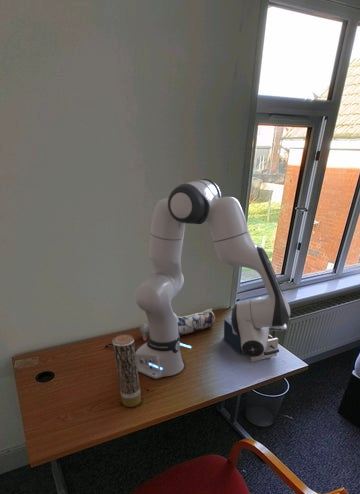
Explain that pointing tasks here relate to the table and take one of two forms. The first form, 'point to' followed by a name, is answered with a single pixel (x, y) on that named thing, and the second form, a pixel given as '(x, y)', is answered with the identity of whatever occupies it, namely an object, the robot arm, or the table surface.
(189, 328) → the pencil case
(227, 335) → the cabinet
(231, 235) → the robot arm
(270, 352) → the drawer
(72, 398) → the table surface
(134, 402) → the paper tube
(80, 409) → the table surface
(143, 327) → the dog figurine
